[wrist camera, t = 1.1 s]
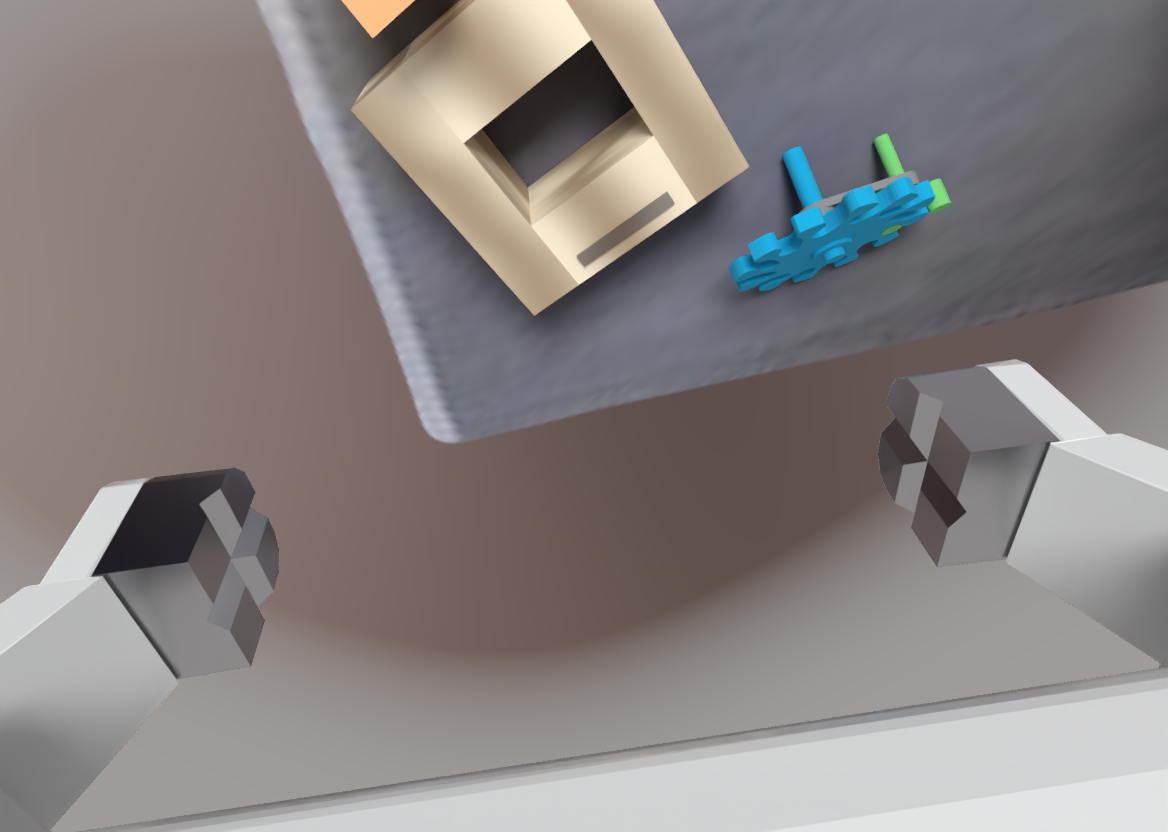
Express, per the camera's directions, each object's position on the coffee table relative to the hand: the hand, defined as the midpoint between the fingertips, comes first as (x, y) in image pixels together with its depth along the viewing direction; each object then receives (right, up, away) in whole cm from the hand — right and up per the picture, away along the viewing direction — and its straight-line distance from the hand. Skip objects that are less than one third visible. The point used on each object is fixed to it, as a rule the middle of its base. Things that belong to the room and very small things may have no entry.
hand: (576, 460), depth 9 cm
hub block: (-1, +15, +26) cm, 30 cm away
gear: (+12, +12, +30) cm, 35 cm away
